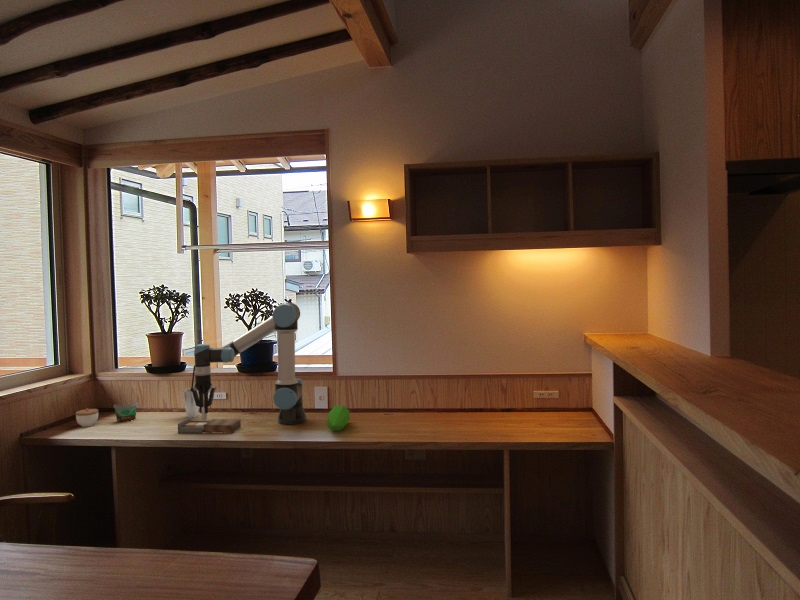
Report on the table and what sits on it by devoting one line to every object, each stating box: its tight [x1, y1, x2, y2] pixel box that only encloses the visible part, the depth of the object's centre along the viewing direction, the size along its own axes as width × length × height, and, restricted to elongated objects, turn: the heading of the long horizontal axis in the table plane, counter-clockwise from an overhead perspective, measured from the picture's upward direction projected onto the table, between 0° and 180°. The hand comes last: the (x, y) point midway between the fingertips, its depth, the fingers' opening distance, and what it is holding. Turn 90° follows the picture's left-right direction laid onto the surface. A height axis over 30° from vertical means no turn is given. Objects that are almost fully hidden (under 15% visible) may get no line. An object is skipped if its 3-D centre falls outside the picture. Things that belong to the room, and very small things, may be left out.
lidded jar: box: [75, 407, 99, 428], centre depth 290 cm, size 11×11×9 cm
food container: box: [113, 400, 139, 423], centre depth 297 cm, size 12×6×10 cm, turn 129°
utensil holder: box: [181, 365, 200, 418], centre depth 304 cm, size 11×11×30 cm
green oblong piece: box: [327, 405, 351, 432], centre depth 273 cm, size 11×12×30 cm
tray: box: [177, 417, 210, 434], centre depth 278 cm, size 13×13×5 cm
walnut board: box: [203, 418, 242, 434], centre depth 276 cm, size 15×11×4 cm
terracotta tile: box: [185, 422, 198, 427], centre depth 278 cm, size 5×5×2 cm
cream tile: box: [195, 422, 206, 429], centre depth 277 cm, size 5×5×2 cm
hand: (204, 419), depth 277 cm, fingers closed
